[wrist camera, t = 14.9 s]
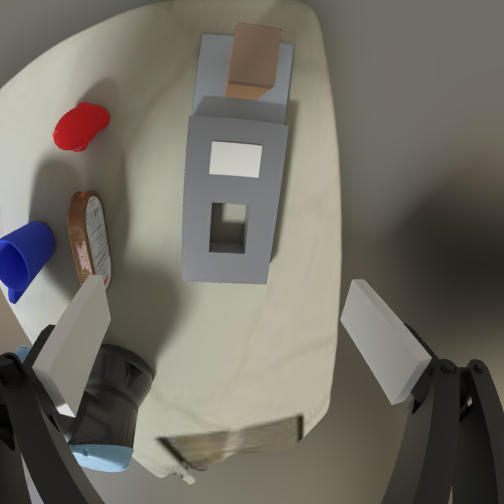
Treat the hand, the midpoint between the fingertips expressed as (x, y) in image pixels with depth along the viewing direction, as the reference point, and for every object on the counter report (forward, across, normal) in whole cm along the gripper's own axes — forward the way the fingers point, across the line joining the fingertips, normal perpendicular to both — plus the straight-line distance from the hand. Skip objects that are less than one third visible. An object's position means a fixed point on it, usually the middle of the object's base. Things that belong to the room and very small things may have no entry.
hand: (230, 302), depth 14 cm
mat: (+26, +2, +16) cm, 30 cm away
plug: (+25, +2, +16) cm, 30 cm away
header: (+26, +2, -1) cm, 26 cm away
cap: (+26, -19, +10) cm, 34 cm away
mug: (+27, -30, -9) cm, 42 cm away
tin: (+26, -17, -6) cm, 32 cm away
